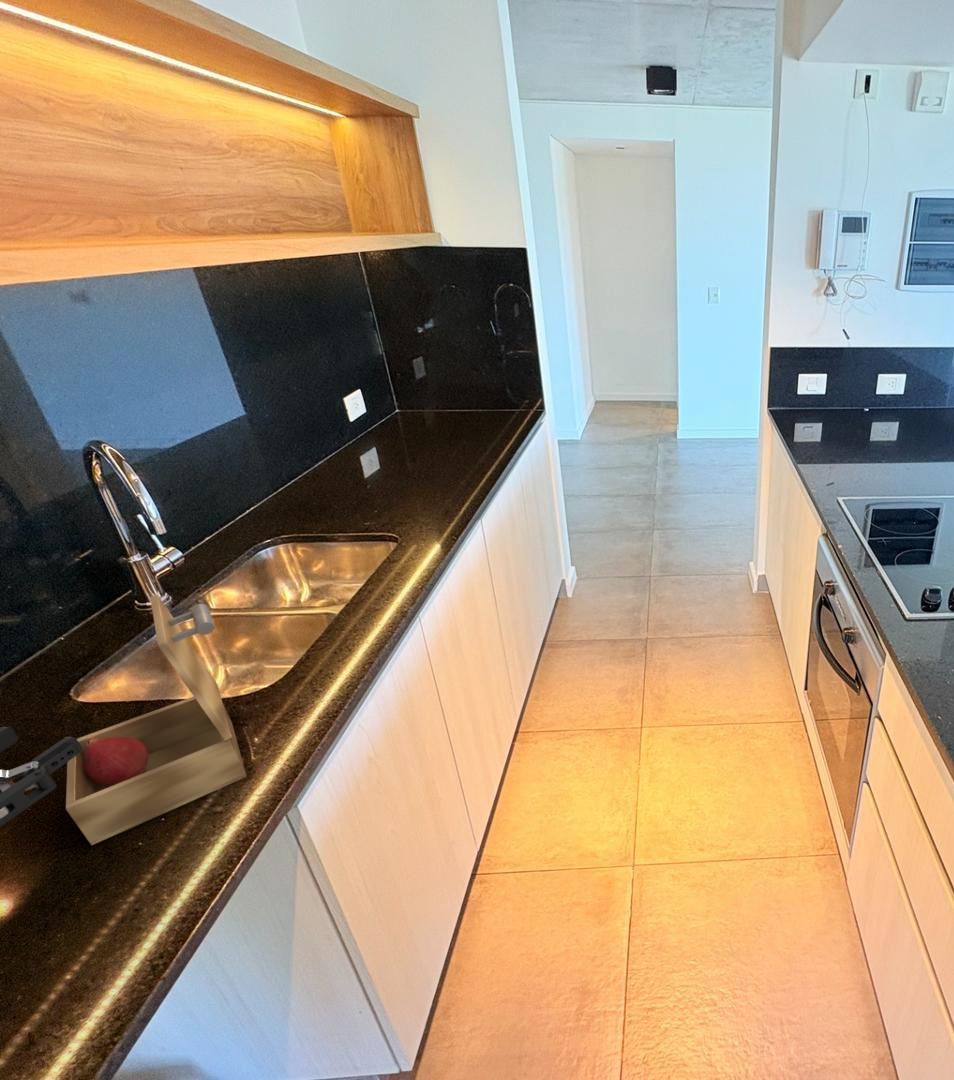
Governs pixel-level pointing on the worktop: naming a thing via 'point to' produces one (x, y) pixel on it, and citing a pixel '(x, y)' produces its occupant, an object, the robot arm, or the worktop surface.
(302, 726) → the worktop surface
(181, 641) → the lid
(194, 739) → the breadbox
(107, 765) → the onion
